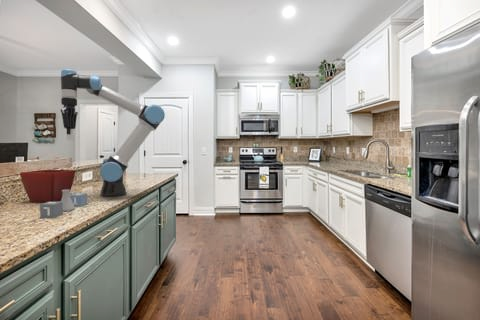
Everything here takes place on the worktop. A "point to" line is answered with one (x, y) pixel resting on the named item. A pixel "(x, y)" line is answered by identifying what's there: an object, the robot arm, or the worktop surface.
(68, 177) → the plant pot
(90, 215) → the worktop surface
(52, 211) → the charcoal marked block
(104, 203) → the worktop surface
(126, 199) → the worktop surface
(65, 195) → the flask
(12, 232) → the worktop surface
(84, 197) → the slate-blue marked block
